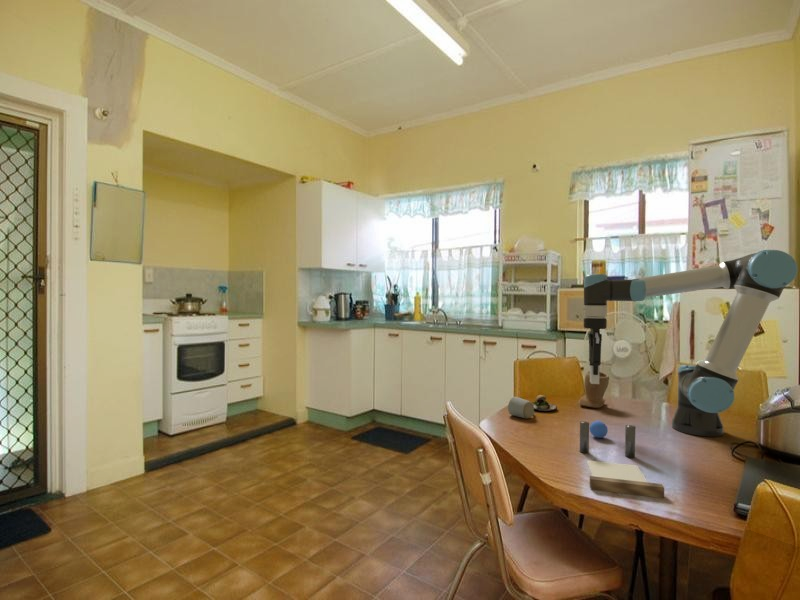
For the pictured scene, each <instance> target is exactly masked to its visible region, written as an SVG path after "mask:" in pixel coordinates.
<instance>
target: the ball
mask: <svg viewBox="0 0 800 600" xmlns="http://www.w3.org/2000/svg"><path fill="white" fill-rule="evenodd" d="M608 431H609V429H608V426H607V425H606V423H604V422H603V421H600V420H595V421H593V422H592V423H590V424H589V433H590V434H591V435H592V436H593V437H595V438H597V439H601V438H604V437H605V436H607V435H608Z"/></svg>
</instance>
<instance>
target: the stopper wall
mask: <svg viewBox="0 0 800 600" xmlns="http://www.w3.org/2000/svg"><path fill="white" fill-rule="evenodd" d="M589 488H590V490H594V491H603V492H609V493H617V494H618V493H619V494H628V495H633V496H634V495H636V496H643V497H653V498H659V499H660V498H661V499H665V487H664V485H663V484H662V483H655V482H648V481H647V482H639V481H630V480H621V479H613V478H604V477H595V476H592V475H589Z"/></svg>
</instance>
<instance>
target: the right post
mask: <svg viewBox="0 0 800 600" xmlns="http://www.w3.org/2000/svg"><path fill="white" fill-rule="evenodd" d="M624 428H625V429H624V430H625V432H624V433H625V435H624V436H625V437H624V438H625V439H624V440H625V441H624V442H625V443H624V446H625V447H624V453H625V455H624V456H625V457H626V458H629V459H635V458H636V426H635V425H632V424H625V427H624Z"/></svg>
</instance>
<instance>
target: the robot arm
mask: <svg viewBox="0 0 800 600" xmlns="http://www.w3.org/2000/svg"><path fill="white" fill-rule="evenodd" d="M798 270H799V269H798V263H797V262H796V260H795V259H794V257H793V256H791V255H790V254H789V253H788V252H785V251H782V250H778V249H763V250H759V251H758V252H754V253H751V254H748V255H745V256H741V257H739V258H738V257H737V258H735V259H732V260H727V261H722V262H719V264H718V265H715V266H707V267H701V268H696V269H688V270H682V271H677V272H676V271H675V272H671V273H670V272H669V273H663V274H657V275H651V276H646V277H638V278H632V279H608V275H607V274H604V273H603V274H602V273H600V274H599V273H596V274H595V273H593V274H592V273H591V274H586V275H585V276H584V280H583V281H584V282H583V307H582V308H581V310H582V311H583V316H584V317H583V328H584V329H588V330H589V332H588V334H587V335H588V336H587V337H588V358H589V359H588V361H589V371H590V382H591V384H599V372H600V366H601V363H602V362H601V359H602V357H601V356H602V341H603V339H602V338H603V336H602V333H600V332H601V331H600V330H606V329H607V327H608V326H607V325H608V323H607V318H606V317H607V316H608V302H643V301H645V300H646V299H648V298H652V297H654V298H655V297H661V296H668V295H674V294H681V293H682V294H683V293H688V292H690V293H691V292H697V291H703V290H709V289H717V288H723V289H725V290H731V289H735V291H736V295H735V296H734V298H733V300H732V303H731V305H730V307H729V308H728V311H727V313H726V315H725V318H724V319H723V321H722V324H721V326H720V328H719V330H718V332H717V334H716V337H715V338H714V341H713V342H712V345H711V347H710V349H709V351H708V353H707V355H706V357H705V359H704V360H703V361H700V362H697V363H696V365H689V364H688V365H687V364H686V365H685V364H681V365H679V367H678V371H677V376H678V377H677V381H678V382H677V384H678V387H677V389H678V390H677V408H676V410H675V412H674V415H673V418H672V421H671V427H672V429H674V430H675V431H678V432H681V433H683V434H684V433H685V434H688V435H689V434H690V435H693V436H701V437H710V438H711V437H713V438H715V437H721V436H723V435H724V434H725V433H724V432H725V431H724V430H725V429H724V425H723V423H722V419H721V417H720V413H722V412H725V411H727V410H728V409H730V408H731V406H732V405H733V403H734V401H735V388H736V386H737V383H738V382H739V377H738V374H737V370H738V367H739V366H740V364H741V362H742V360H743V358H744V356H745V354H746V352H747V350H748V347H749V346H750V344H751V341H752V340H753V338H754V336H755V334H756V331H757V329H758V327H759V325H760V323H761V321H762V319H763V318H764V315H765V313H766V311H767V309H768V307H769V306H770V303H772V302H774V301H776V300H779V299H780V297H781V295H782V293H783V291H784V289H785V287H786V286H788V285H790V284H791V283H792V282H794V280H795V278H796V276H797V275H798Z"/></svg>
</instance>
